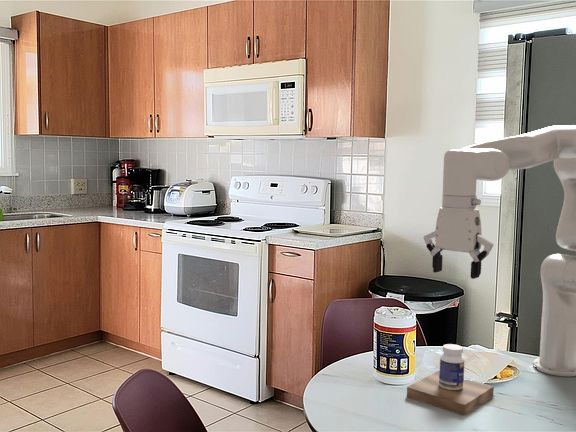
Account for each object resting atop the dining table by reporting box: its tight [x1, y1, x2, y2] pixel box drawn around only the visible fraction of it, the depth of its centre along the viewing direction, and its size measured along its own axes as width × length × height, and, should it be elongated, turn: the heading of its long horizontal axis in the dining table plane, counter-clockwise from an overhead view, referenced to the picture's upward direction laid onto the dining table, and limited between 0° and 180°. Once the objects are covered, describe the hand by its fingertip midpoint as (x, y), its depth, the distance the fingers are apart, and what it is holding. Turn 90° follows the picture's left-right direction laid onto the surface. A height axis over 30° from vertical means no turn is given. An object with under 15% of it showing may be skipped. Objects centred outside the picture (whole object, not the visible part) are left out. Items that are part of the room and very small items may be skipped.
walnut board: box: [406, 370, 495, 416], centre depth 152 cm, size 15×15×2 cm
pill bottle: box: [439, 343, 465, 390], centre depth 152 cm, size 6×6×10 cm
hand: (455, 274), depth 149 cm, fingers open, 9 cm apart
